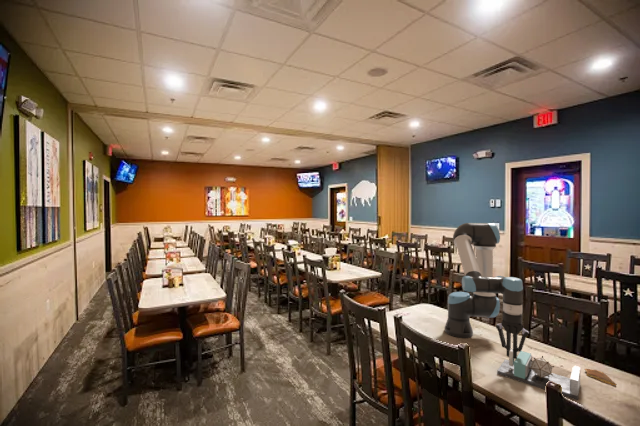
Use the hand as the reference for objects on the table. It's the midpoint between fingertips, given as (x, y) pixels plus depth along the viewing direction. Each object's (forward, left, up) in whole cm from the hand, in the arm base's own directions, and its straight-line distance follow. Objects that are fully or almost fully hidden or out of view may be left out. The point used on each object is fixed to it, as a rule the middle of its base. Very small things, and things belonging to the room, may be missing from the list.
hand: (511, 364), depth 140 cm
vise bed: (+1, +9, -3) cm, 10 cm away
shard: (-16, +33, -4) cm, 37 cm away
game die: (+1, +11, -2) cm, 11 cm away
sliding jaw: (+1, +4, -2) cm, 5 cm away
